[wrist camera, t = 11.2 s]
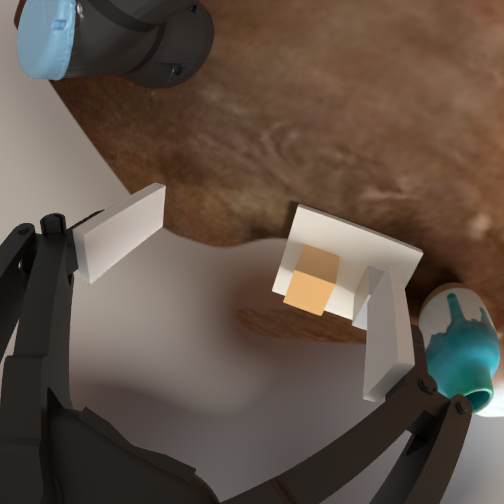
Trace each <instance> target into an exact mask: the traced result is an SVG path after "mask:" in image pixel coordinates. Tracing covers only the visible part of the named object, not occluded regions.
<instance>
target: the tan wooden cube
mask: <svg viewBox="0 0 504 504" xmlns="http://www.w3.org/2000/svg"><path fill="white" fill-rule="evenodd" d="M339 259H340V256H337V255H334V254H332V253H329V252H326V251H323V250H320V249H318V248H315V247H312V246H309V245H306V244H305V245H304V248H303V250H302V253H301V255H300V258H299V260H298V263H297V265H296V267H295V270H294V273H293V276H292V279H291V282H290V284H289V287H288V290H287V293H286V296H285V299H284V301H283V302H284V303H287V304H289V305H292V306H295V307H297V308H300V309H303V310H306V311H308V312H311V313H314V314H317V315H320V316H321V315H322V313H323V311H324V309H325V306H326V304H327V302H328V300H329V298H330V296H331V293H332V291H333V289H334V287H335V284H336V278H337V272H338V265H339Z"/></svg>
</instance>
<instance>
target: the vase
mask: <svg viewBox="0 0 504 504" xmlns="http://www.w3.org/2000/svg"><path fill="white" fill-rule="evenodd" d="M419 329H420V331H421V333H422V335H423V340H424V346H425V353H426V360H427V368H428V374H429V375H430V376H432V377H433V378H434V380H435V381H436V383H437V386H438V392H439V393H441V394H442V395H444V396H446V397H447V398H449V399H451V398H452V397H453V396H454V395H456V394H462V395H463V396H465V397H466V398H467V399H468V400H469V401H470V403H471V406H472V414H475V413H477V412H479V411H481V410H482V409H484V408H485V407H486V406H487V405H488V404H489V403H490V402H491V400H492V398H493V386H492V380H491V378H492V377H493V375H494V374H495V372H496V370H497V368H498V365H499V361H500V346H499V341H498V337H497V334H496V330H495V328H494V325H493V323H492V320H491V318H490V316H489V313H488V311H487V309H486V308H485V306H484V304H483V302H482V301H481V299H480V298H479V296H478V295H477V293H476V292H475V291H474V290H473V289H472V288H470V287H469V286H467V285H465V284H462V283H456V282H452V283H446V284H443V285H441V286H439V287H437V288H436V289H434V290H433V291H432V292H431V293H430V294H429V295H428V296H427V297H426V299H425V301H424V302H423V304H422V307H421V310H420V314H419Z"/></svg>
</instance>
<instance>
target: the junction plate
mask: <svg viewBox="0 0 504 504" xmlns="http://www.w3.org/2000/svg"><path fill="white" fill-rule="evenodd" d="M305 244H306V245H309V246H312V247H315V248H318V249H320V250H323V251H326V252H329V253H332V254H334V255H337V256H340V259H339V265H338V272H337V278H336V284H335V287H334V289H333V291H332V293H331V296H330V298H329V300H328V302H327V304H326V306H325V309H324V310H326V311H328V312H331V313H334V314H337V315H340V316H343V317H345V318H348V319H351V320H352V326H355V327H358V328H361V329H364V330H367V302H368V300H369V299H370V297H371V295H372V294H373V292H374V290H375V288H376V287H377V285H378V283H379V281H380V279H381V277H382V276H383V274H384V272H385V270H386V268H387V266H388V264H389V265H391V266H394V267H396V268H399V269H401V273H402V278H403V284H404V289H405V287H406V285H407V284H408V282H409V280H410V278H411V276H412V274H413V273H414V271H415V269H416V267H417V265H418V263H419V261H420V259H421V257H422V255H423V252H422V250H421V249H419V248H416V247H414V246H412V245H409V244H407V243H404V242H402V241H399V240H397V239H394V238H392V237H389V236H387V235H384V234H382V233H379V232H376V231H374V230H371V229H369V228H366V227H363V226H361V225H358V224H355V223H353V222H350V221H347V220H345V219H342V218H339V217H336V216H333V215H331V214H328V213H325V212H322V211H319V210H316V209H314V208H311V207H308V206H305V205H302V204H299V205H298V207H297V211H296V214H295V217H294V221H293V224H292V228H291V231H290V234H289V237H288V241H287V244H286V247H285V251H284V254H283V257H282V260H281V264H280V267H279V270H278V273H277V276H276V280H275V283H274V286H273V290H272V291H274V292H276V293H279V294H282V295H284V296H286V293H287V290H288V287H289V284H290V282H291V279H292V276H293V273H294V270H295V267H296V265H297V263H298V260H299V258H300V255H301V253H302V250H303V248H304V245H305Z"/></svg>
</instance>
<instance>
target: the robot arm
mask: <svg viewBox="0 0 504 504" xmlns="http://www.w3.org/2000/svg"><path fill="white" fill-rule="evenodd" d="M199 1H201V0H27V1H26V4H25V6H24V9H23V12H22V15H21V18H20V22H19V27H18V33H17V55H18V61H19V64H20V66H21V69H22V70H23V72H24V73H25V74H26V75H27V76H29V77H31V78H33V79H53V80H60V78H70V77H86V76H122V77H124V78H126V79H128V80H129V81H131V82H133V83H135V84H137V85H139V86H142V87H146V88H169V87H173V86H176V85H178V84H180V83H182V82H184V81H186V80H187V79H189V78H190V77H191V76H192V75H194V74H195V73H196V72H197V71H198V69H199V68H200V67H201V66H202V64H203V63H204V61H205V60H206V58H207V56H208V54H209V52H210V49H211V46H212V43H213V36H214V27H213V22H212V18H211V16H210V14H209V12H208V11H207V9H206V8H205V7H204V6H203V5H202V4H200V3H199ZM165 189H166V186H165V185H162V184H159V183H156V182H155V183H153V184H151V185H149V186H147V187H145V188H144V189H142V190H140V191H138V192H136V193H134V194H132V195H131V196H129V197H127V198H125V199H123V200H122V201H120V202H118V203H116V204H114V205H113V206H111V207H109V208H107V209H106V210H101V211H97V212H95V213H93V214H91V215H90V216H89V217H86V218H85V219H83V221H80V222H78V223H76V224H75V225H73V226H72V227H70V228H68V229H66V222H65V216H64V215H62V214H59V213H53V214H49V215H46V216H44V217H43V218H42V219H41V220H40V225H41V230H42V234H37V233H35V227H34V225H33V224H30V223H23V224H20V225H19V226H17V227H16V228H15V229H13V231H12V232H11V233H10V234H9V235H8V237H7V238H6V239H5V240H4V242H3V243H2V244H1V246H0V363H1V360H2V358H3V355H4V353H5V350H6V348H7V345H8V342H9V340H10V338H11V336H12V333H13V331H14V329H15V327H16V324H17V322H18V320H19V324H18V329H17V335H16V341H15V347H14V353H13V355H12V356H7V357H6V358H5V362H4V368H3V378H2V388H1V401H0V504H319V503H321V502H322V501H323V500H325V499H326V498H328V497H329V496H331V495H332V494H333V493H335V492H336V491H337V490H339V489H340V488H341V487H343V486H344V485H345V484H346V483H348V482H349V481H350V480H352V479H353V478H354V477H355V476H356V475H358V474H359V473H360V472H361V471H363V470H364V469H365V468H366V467H367V466H368V465H370V463H372V462H373V461H374V460H375V459H376V458H377V457H378V456H380V455H381V454H382V453H383V452H384V451H385V450H386V449H387V448H388V447H389V446H390V445H391V444H392V443H393V442H394V441H395V440H396V439H397V438H398V437H399V436H400V435H401V434H402V433H403V432H404V431H405V430H408V431H409V432H411V433H412V435H411V437H410V439H409V440H408V442H407V444H406V446H405V448H404V450H403V451H402V453H401V455H400V457H399V458H398V460H397V462H396V464H395V465H394V467H393V469H392V470H391V472H390V473H389V475H388V477H387V478H386V480H385V481H384V483H383V484H382V486H381V487H380V489H379V490H378V492H377V493H376V495H375V496H374V498H373V499H372V501H371V502H370V503H369V504H439V503H440V501H441V499H442V497H443V495H444V492H445V490H446V488H447V486H448V483H449V481H450V479H451V476H452V474H453V471H454V468H455V466H456V463H457V461H458V458H459V455H460V452H461V449H462V447H463V443H464V440H465V437H466V434H467V431H468V427H469V424H470V420H471V417H472V406H471V403H470V401H469V400H468V399H467V398H466V397H465V396H463V395H462V394H456V395H454V396H453V397H452V398H451V399H449V398H447V397H446V396H444V395H442V394H441V393H439V392H438V386H437V383H436V381H435V380H434V378H433V377H432V376H430V375H429V374H428V368H427V360H426V353H425V346H424V340H423V335H422V333H421V331H420V329H419V327H418V326H416V325H413V324H410V319H409V312H408V306H407V300H406V294H405V289H404V284H403V278H402V273H401V269H399V268H396V267H394V266H391V265H389V264H388V266H387V268H386V270H385V272H384V274H383V276H382V277H381V279H380V281H379V283H378V285H377V287H376V288H375V290H374V292H373V294H372V295H371V297H370V299H369V300H368V302H367V342H366V362H365V377H364V390H363V399H366V400H370V401H374V402H377V403H378V402H379V401H380V400H381V399H382V398H383V397H384V396H385V395H386V397H385V402H384V403H383V404H382V405H380V406H379V407H378V408H377V409H376V410H374V411H373V412H372V413H371V414H370V415H368V416H367V417H366V418H364V419H363V420H362V421H361V422H359V423H358V424H357V425H355V426H354V427H353V428H352V429H350V430H349V431H347V432H346V433H345V434H343V435H342V436H340V437H339V438H338V439H336V440H335V441H333V442H332V443H331V444H329V445H328V446H326V447H325V448H323V449H322V450H320V451H319V452H317V453H316V454H314V455H312V456H311V457H309V458H308V459H306V460H305V461H303V462H301V463H299V464H298V465H296V466H295V467H293V468H291V469H289V470H288V471H286V472H284V473H282V474H280V475H279V476H277V477H274V478H272V479H270V480H268V481H266V482H264V483H262V484H260V485H258V486H256V487H254V488H252V489H250V490H248V491H246V492H244V493H241V494H239V495H237V496H235V497H233V498H231V499H228V500H226V501H223V502H221V503H220V502H219V500H218V498H217V496H216V495H215V493H214V492H213V490H212V489H211V488H210V487H209V486H208V484H207V483H206V482H204V481H203V480H202V479H201V478H200V477H198V476H197V475H196V474H195V472H196V469H195V468H193V467H191V466H189V465H186V464H184V463H182V462H180V461H178V460H176V459H173V458H171V457H169V456H167V455H165V454H161V453H156V452H152V451H149V450H146V449H142V448H139V447H135V446H133V445H131V444H130V443H129V442H128V441H127V440H126V439H125V438H124V437H123V436H122V435H121V434H120V433H119V432H118V431H117V430H116V429H115V428H114V427H113V426H112V425H111V424H110V423H109V422H107V421H106V420H104V419H103V418H101V417H100V416H98V415H97V414H95V413H94V412H92V411H91V410H90V409H88V408H87V407H85V408H84V409H83V411H78V410H74V409H73V406H72V402H71V399H70V392H69V335H70V318H71V305H72V294H73V284H74V274H73V272H74V271H76V270H77V269H78V270H79V276H80V279H82V280H84V281H85V282H87V283H89V284H92V283H93V282H94V281H95V280H96V279H98V278H99V277H100V276H101V275H102V274H103V273H105V272H106V271H107V270H108V269H109V268H111V267H112V266H113V265H114V264H115V263H117V262H118V261H119V260H120V259H122V258H123V257H124V256H125V255H126V254H128V253H129V252H130V251H131V250H133V249H134V248H135V247H137V246H138V245H139V244H140V243H142V242H143V241H144V240H145V239H147V238H148V237H149V236H151V235H152V234H153V233H154V232H156V231H157V230H158V229H159V228H161V227H162V226H163V212H164V200H165ZM19 262H20V267H19ZM18 267H19V268H18ZM19 318H20V319H19Z"/></svg>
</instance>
